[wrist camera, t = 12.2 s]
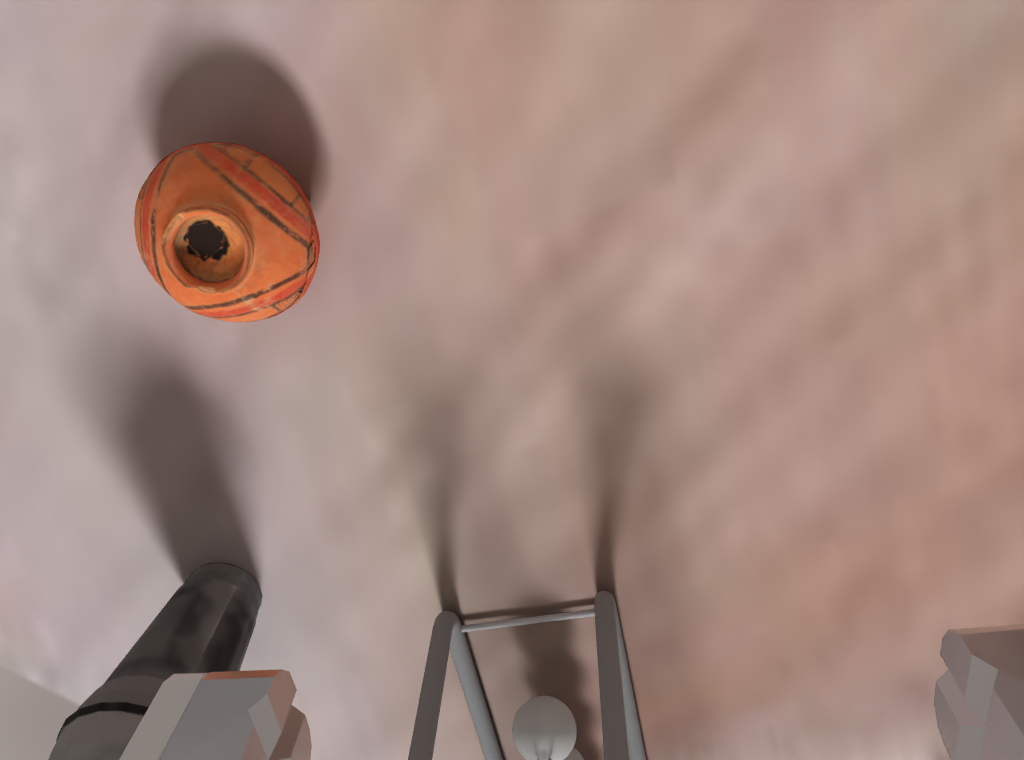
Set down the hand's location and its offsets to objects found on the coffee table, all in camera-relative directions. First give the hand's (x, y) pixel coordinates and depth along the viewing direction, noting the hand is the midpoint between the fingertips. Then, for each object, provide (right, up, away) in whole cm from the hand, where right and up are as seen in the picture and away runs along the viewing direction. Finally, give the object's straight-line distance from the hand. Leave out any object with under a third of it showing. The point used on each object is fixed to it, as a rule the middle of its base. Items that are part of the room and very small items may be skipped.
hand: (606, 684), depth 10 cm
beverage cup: (-19, -9, +38) cm, 43 cm away
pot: (-13, +12, +28) cm, 33 cm away
